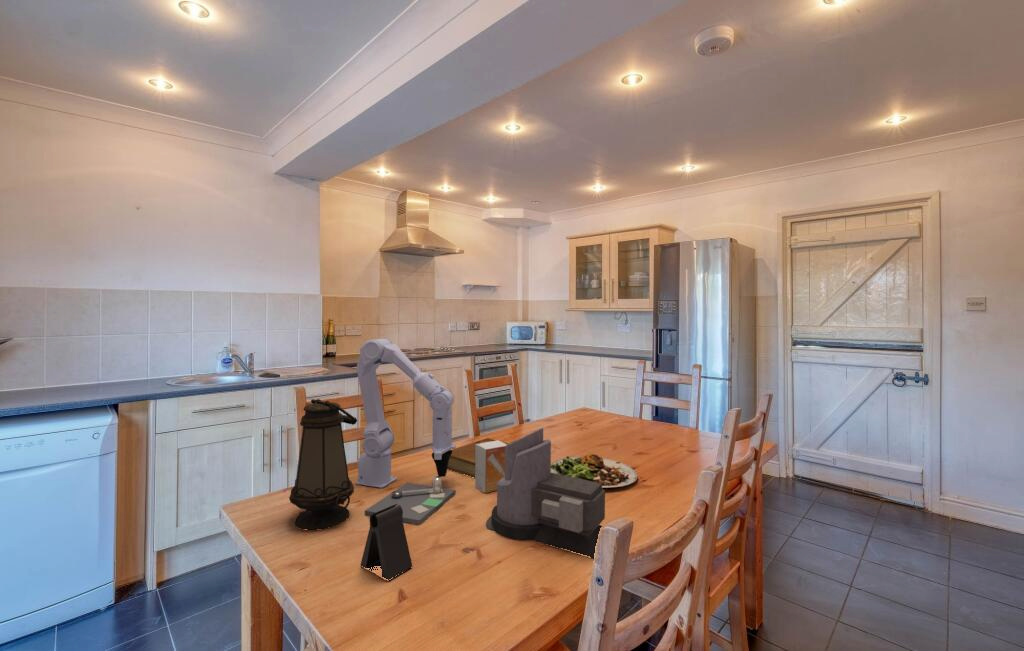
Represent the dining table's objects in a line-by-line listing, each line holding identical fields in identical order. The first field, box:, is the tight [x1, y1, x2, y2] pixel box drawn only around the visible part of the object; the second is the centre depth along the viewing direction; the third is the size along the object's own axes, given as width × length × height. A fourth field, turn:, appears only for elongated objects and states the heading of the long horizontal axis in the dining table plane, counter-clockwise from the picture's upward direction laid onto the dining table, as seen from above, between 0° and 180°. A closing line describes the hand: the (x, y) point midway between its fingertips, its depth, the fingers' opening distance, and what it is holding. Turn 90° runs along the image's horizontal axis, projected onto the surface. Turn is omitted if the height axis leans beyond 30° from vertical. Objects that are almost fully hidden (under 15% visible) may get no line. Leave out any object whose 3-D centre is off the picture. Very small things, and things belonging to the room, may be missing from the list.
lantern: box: [289, 398, 358, 531], centre depth 111 cm, size 18×15×30 cm
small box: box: [474, 439, 507, 494], centre depth 132 cm, size 8×6×13 cm
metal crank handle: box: [391, 475, 444, 498], centre depth 123 cm, size 14×3×4 cm, turn 106°
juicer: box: [485, 427, 606, 560], centre depth 106 cm, size 30×16×24 cm, turn 59°
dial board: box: [364, 482, 456, 526], centre depth 120 cm, size 16×20×1 cm
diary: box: [447, 437, 511, 479], centre depth 152 cm, size 23×19×6 cm
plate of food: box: [551, 453, 639, 489], centre depth 142 cm, size 28×28×6 cm
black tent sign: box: [360, 504, 413, 580], centre depth 90 cm, size 9×6×12 cm, turn 53°
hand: (442, 475), depth 132 cm, fingers closed
